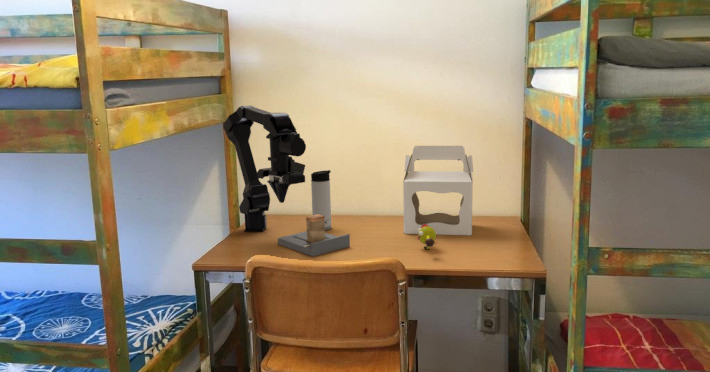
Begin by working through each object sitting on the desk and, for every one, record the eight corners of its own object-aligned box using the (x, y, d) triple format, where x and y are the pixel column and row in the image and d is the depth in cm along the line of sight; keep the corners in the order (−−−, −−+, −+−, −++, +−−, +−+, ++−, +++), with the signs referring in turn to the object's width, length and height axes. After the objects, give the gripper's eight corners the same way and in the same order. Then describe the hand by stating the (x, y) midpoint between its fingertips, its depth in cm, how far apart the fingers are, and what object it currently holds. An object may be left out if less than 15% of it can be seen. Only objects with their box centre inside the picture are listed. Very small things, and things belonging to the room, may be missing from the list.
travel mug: (329, 231, 199) (327, 172, 195) (310, 230, 200) (308, 171, 196) (334, 226, 205) (332, 169, 201) (315, 225, 206) (313, 168, 202)
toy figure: (415, 240, 185) (415, 219, 184) (432, 240, 185) (432, 219, 184) (419, 258, 168) (419, 235, 166) (439, 257, 167) (439, 234, 166)
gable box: (472, 225, 202) (473, 143, 197) (472, 235, 189) (473, 148, 184) (406, 223, 206) (406, 143, 201) (402, 233, 193) (402, 148, 188)
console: (278, 244, 185) (277, 230, 184) (313, 235, 194) (313, 222, 193) (313, 256, 171) (312, 241, 171) (349, 246, 180) (349, 232, 180)
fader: (305, 242, 177) (304, 216, 176) (317, 239, 180) (316, 213, 179) (315, 245, 174) (314, 219, 172) (327, 242, 177) (326, 216, 175)
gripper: (318, 153, 183) (320, 202, 186) (284, 148, 197) (286, 194, 200) (288, 157, 176) (290, 208, 179) (255, 152, 190) (257, 199, 193)
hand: (281, 202), depth 188 cm, fingers closed
